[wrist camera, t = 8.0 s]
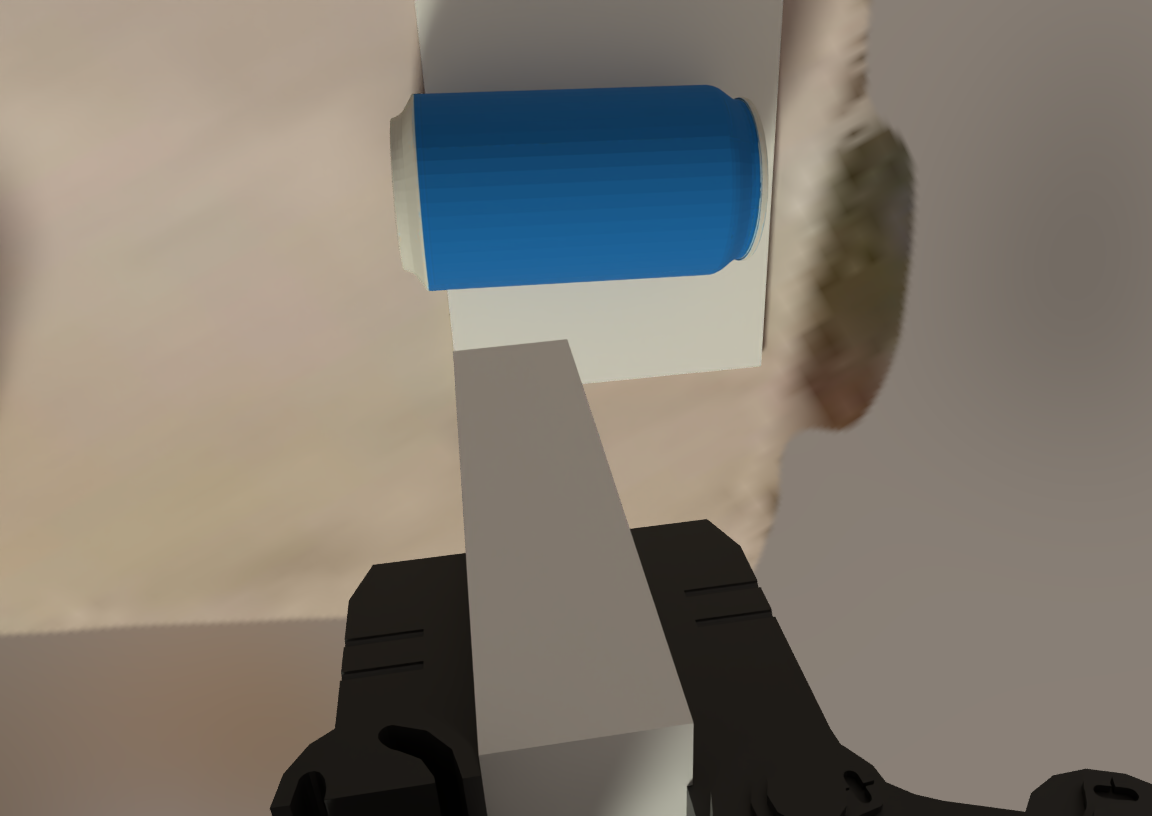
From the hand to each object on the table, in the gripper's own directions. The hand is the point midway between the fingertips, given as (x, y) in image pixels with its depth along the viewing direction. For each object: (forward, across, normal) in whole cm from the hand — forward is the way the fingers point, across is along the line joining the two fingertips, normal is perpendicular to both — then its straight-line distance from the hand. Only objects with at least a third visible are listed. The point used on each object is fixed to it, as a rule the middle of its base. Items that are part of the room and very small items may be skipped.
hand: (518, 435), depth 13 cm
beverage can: (+21, -3, -2) cm, 21 cm away
